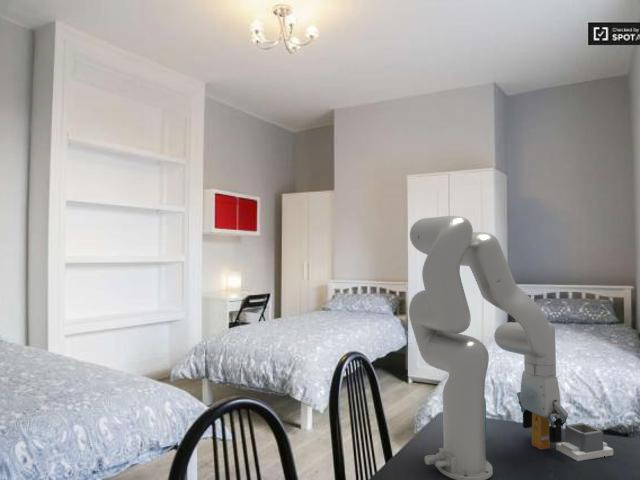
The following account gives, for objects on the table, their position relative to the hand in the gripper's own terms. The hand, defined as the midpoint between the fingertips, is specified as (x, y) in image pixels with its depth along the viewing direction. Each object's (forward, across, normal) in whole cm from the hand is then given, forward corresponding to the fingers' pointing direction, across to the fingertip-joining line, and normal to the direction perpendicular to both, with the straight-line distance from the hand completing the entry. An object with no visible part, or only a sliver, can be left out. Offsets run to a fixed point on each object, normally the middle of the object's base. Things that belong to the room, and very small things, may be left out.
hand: (541, 434), depth 126 cm
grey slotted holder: (+3, +6, +8) cm, 10 cm away
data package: (+3, -13, -12) cm, 18 cm away
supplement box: (+3, 0, 0) cm, 3 cm away
